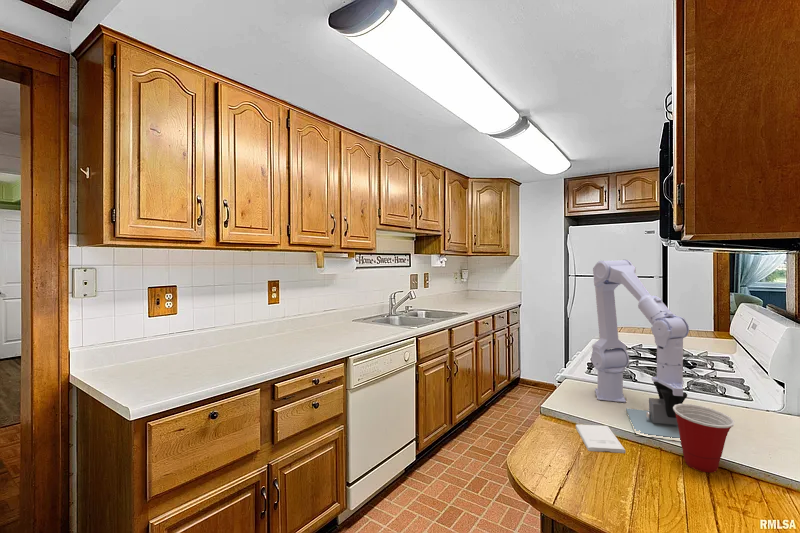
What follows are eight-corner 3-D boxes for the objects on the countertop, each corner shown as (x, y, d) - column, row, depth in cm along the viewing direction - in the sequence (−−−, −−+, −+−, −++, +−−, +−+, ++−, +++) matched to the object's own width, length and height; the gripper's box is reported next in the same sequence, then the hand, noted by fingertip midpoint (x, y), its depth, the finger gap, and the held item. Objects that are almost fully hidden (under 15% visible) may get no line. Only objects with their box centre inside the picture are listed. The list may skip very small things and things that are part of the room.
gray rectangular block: (649, 415, 110) (648, 397, 110) (679, 418, 107) (678, 400, 107) (653, 422, 106) (653, 404, 105) (684, 425, 103) (684, 406, 103)
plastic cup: (738, 486, 81) (739, 427, 80) (673, 471, 86) (673, 416, 86) (730, 461, 90) (730, 408, 89) (671, 449, 95) (672, 399, 95)
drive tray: (626, 411, 117) (626, 399, 117) (700, 419, 110) (700, 407, 110) (635, 436, 102) (636, 422, 102) (722, 447, 96) (722, 432, 95)
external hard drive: (608, 431, 106) (625, 455, 94) (575, 430, 108) (588, 453, 96) (608, 425, 106) (625, 448, 94) (575, 424, 108) (588, 446, 96)
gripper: (645, 354, 114) (645, 401, 114) (659, 369, 100) (659, 422, 101) (674, 356, 111) (674, 404, 112) (693, 371, 98) (692, 426, 98)
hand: (669, 413), depth 106 cm, fingers closed on gray rectangular block, 4 cm apart
